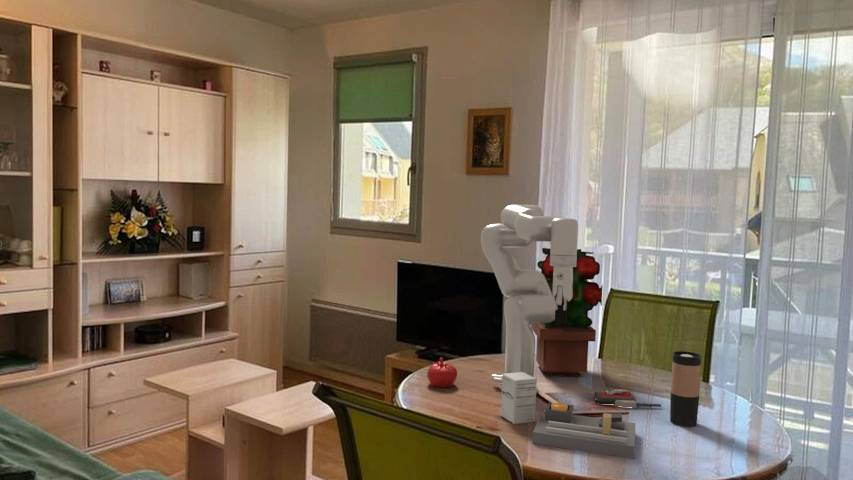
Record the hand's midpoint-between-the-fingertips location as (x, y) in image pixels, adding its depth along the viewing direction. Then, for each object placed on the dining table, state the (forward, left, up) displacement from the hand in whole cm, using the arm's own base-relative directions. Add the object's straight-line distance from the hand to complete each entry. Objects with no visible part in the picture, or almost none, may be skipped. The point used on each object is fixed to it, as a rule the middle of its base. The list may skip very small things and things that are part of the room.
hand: (560, 323), depth 187 cm
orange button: (+2, -11, -24) cm, 26 cm away
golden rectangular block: (+15, -20, -24) cm, 35 cm away
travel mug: (+35, +8, -27) cm, 45 cm away
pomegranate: (-40, +15, -27) cm, 51 cm away
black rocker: (+16, -12, -22) cm, 30 cm away
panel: (+10, -16, -27) cm, 33 cm away
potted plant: (-5, +50, -27) cm, 57 cm away
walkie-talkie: (+19, +19, -28) cm, 39 cm away
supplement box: (-10, -8, -27) cm, 30 cm away
